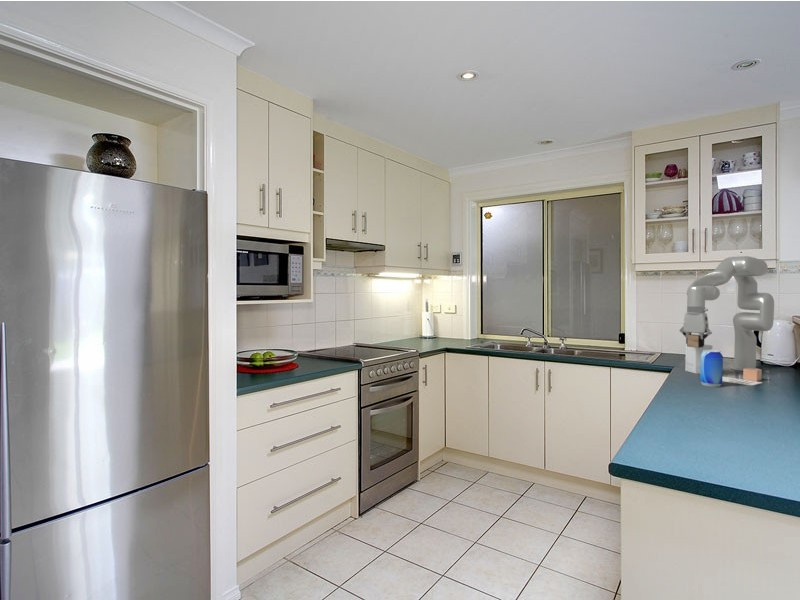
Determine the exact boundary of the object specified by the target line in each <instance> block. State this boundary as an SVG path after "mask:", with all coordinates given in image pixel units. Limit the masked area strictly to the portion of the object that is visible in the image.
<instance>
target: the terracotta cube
mask: <svg viewBox="0 0 800 600" xmlns="http://www.w3.org/2000/svg"><path fill="white" fill-rule="evenodd" d="M762 371H763V370H762V369H761V368H758V369H754V368H745V369H743V371H742V372H743V373H742V374H743V376H742V377H743V380H750V381H756V382H761V381H763V380H762V373H763V372H762Z"/></svg>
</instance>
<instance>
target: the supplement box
mask: <svg viewBox="0 0 800 600" xmlns="http://www.w3.org/2000/svg"><path fill="white" fill-rule="evenodd" d="M703 350H713V345H710V344H705V343H704V346H703V347H700V348H695V347H687V344H686V343H685V359H684V360H685V361H684V362H685V366H684V367H685V369H684V370H685V372H689V373H691V374H700V364H701V354H702V352H703Z"/></svg>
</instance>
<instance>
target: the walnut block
mask: <svg viewBox="0 0 800 600" xmlns="http://www.w3.org/2000/svg"><path fill="white" fill-rule="evenodd" d="M699 339H700V335H699V334H695V333H691V335H688V336H687V347H695V348H700V347H699Z"/></svg>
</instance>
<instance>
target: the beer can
mask: <svg viewBox="0 0 800 600" xmlns="http://www.w3.org/2000/svg"><path fill="white" fill-rule="evenodd" d="M723 365H724V356H723V354H722V353H721V350H717V349H716V350H715V349H712V350H703V352H702V354H701V364H700V373H699V374H700V375H699V382H700V384H701V385H702V386H706V387H710V388H711V387H713V388H718V387H719V388H720V387H721V386H722V385H723V381H722V377H723V370H724V369H723V367H724V366H723Z"/></svg>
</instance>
